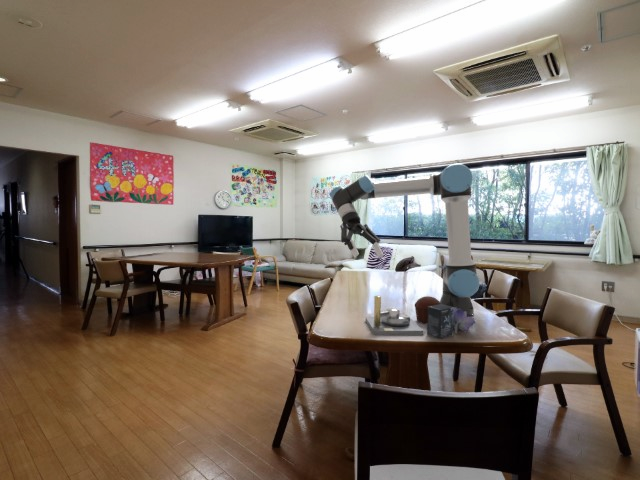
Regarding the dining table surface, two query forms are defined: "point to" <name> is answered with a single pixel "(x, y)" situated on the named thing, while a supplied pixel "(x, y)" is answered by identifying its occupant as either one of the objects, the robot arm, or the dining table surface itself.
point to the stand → (394, 328)
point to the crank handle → (388, 315)
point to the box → (440, 321)
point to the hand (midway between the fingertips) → (369, 256)
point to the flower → (462, 320)
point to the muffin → (424, 308)
